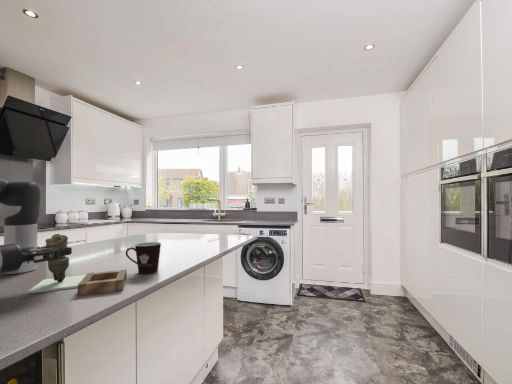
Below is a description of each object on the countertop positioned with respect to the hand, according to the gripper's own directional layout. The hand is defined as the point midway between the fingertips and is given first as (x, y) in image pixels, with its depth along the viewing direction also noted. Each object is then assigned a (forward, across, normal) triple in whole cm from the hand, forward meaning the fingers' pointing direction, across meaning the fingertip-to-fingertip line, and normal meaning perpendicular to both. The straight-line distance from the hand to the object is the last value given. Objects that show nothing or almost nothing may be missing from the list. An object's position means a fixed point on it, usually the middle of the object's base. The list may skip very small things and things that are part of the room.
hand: (62, 249), depth 81 cm
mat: (0, 0, +11) cm, 11 cm away
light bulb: (0, +1, +10) cm, 10 cm away
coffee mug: (+21, -13, +11) cm, 27 cm away
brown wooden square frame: (+4, -15, +11) cm, 18 cm away
